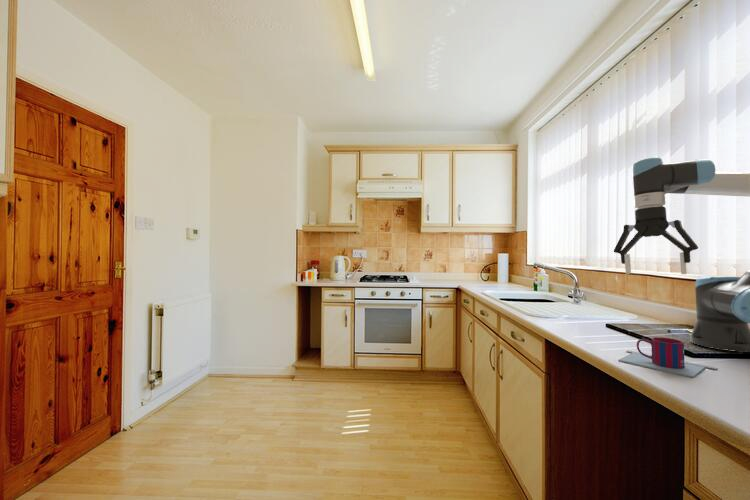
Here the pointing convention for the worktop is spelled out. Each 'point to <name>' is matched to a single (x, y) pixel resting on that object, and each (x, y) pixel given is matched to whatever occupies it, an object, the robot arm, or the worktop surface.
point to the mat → (647, 362)
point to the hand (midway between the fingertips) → (654, 273)
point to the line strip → (684, 361)
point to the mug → (666, 352)
